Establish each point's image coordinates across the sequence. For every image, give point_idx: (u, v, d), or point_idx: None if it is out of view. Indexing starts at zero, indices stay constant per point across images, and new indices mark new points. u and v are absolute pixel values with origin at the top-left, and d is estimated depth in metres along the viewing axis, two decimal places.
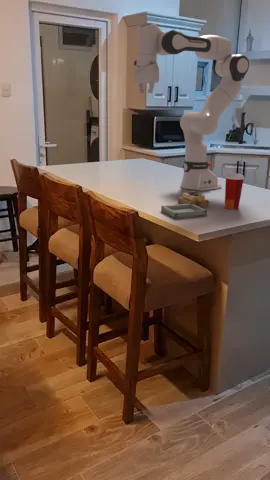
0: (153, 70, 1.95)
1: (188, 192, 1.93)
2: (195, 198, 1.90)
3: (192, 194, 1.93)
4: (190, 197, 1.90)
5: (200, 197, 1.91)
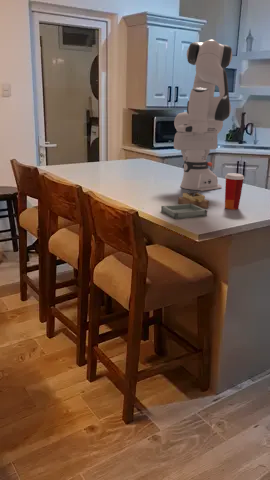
0: None
1: (188, 192, 1.93)
2: (195, 198, 1.90)
3: (192, 194, 1.93)
4: (190, 197, 1.90)
5: (200, 197, 1.91)
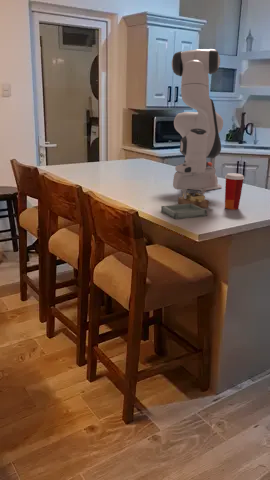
0: None
1: (188, 192, 1.93)
2: (195, 198, 1.90)
3: (192, 194, 1.93)
4: (190, 197, 1.90)
5: (200, 197, 1.91)
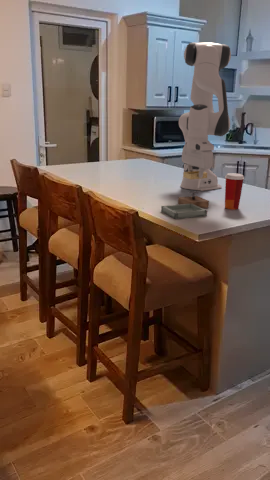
0: None
1: (188, 192, 1.93)
2: None
3: (192, 194, 1.93)
4: (204, 174, 1.89)
5: None
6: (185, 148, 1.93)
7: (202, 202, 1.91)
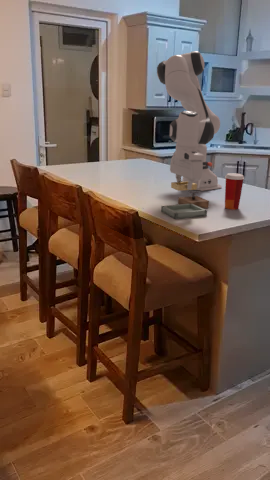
0: None
1: (188, 192, 1.93)
2: None
3: (192, 194, 1.93)
4: (193, 185, 1.76)
5: None
6: (174, 157, 1.79)
7: (202, 202, 1.91)
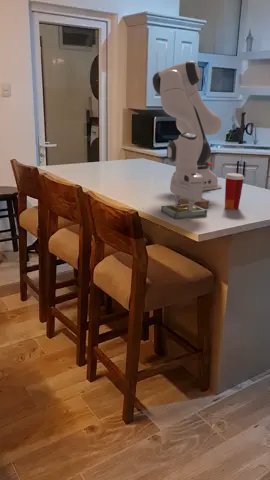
0: None
1: None
2: None
3: None
4: (193, 209, 1.79)
5: None
6: (174, 178, 1.82)
7: (202, 202, 1.91)
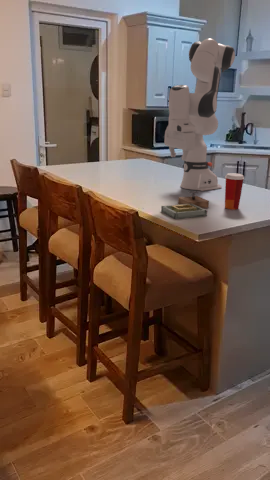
0: None
1: (188, 192, 1.93)
2: None
3: (192, 194, 1.93)
4: (193, 209, 1.79)
5: None
6: (167, 130, 1.89)
7: (202, 202, 1.91)
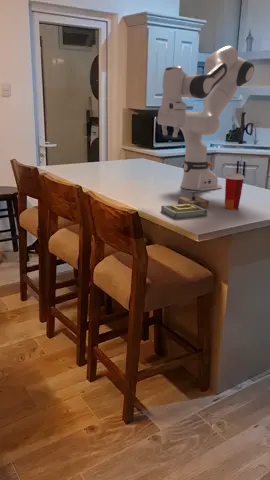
0: None
1: (188, 192, 1.93)
2: None
3: (192, 194, 1.93)
4: (193, 209, 1.79)
5: None
6: (160, 109, 2.00)
7: (202, 202, 1.91)
